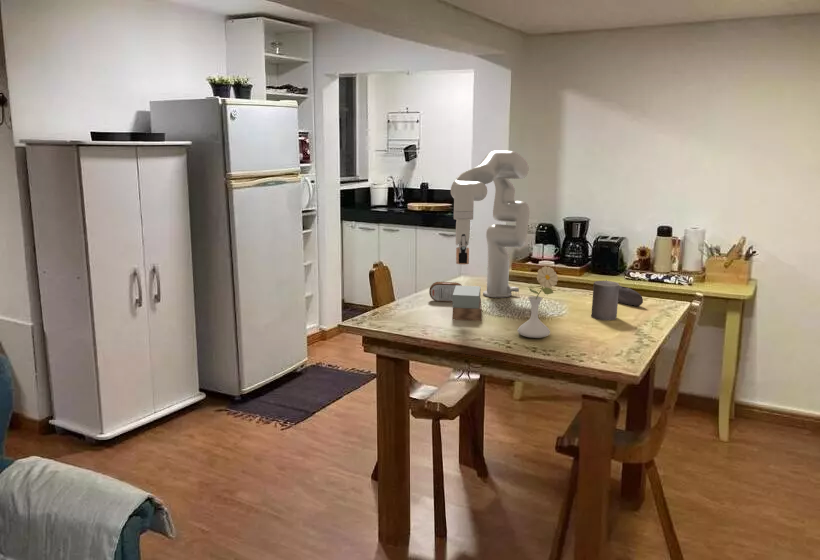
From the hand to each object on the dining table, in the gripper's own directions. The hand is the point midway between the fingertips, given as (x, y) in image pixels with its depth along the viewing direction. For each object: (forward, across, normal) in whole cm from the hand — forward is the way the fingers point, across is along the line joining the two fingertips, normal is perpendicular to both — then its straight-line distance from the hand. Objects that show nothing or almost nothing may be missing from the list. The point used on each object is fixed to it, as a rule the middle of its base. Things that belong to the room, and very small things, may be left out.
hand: (462, 261), depth 260 cm
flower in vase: (+21, +30, +25) cm, 45 cm away
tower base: (+22, 0, +2) cm, 22 cm away
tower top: (+17, 0, +2) cm, 17 cm away
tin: (+22, -20, -6) cm, 30 cm away
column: (+1, 0, 0) cm, 1 cm away
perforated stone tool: (+22, -22, +71) cm, 78 cm away
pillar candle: (+22, +1, +56) cm, 60 cm away
